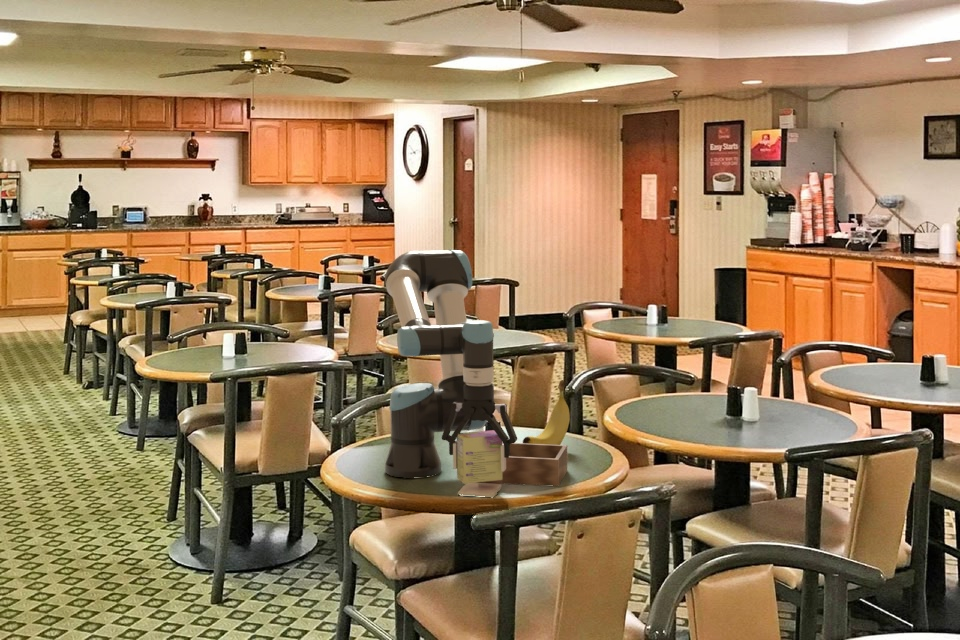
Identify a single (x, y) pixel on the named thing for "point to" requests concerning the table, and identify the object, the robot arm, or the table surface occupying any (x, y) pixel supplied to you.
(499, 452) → the box
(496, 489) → the tile
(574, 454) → the table surface
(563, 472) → the crate
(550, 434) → the banana
